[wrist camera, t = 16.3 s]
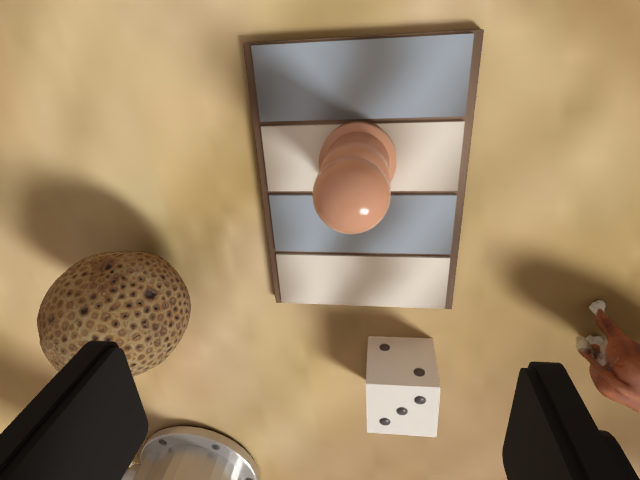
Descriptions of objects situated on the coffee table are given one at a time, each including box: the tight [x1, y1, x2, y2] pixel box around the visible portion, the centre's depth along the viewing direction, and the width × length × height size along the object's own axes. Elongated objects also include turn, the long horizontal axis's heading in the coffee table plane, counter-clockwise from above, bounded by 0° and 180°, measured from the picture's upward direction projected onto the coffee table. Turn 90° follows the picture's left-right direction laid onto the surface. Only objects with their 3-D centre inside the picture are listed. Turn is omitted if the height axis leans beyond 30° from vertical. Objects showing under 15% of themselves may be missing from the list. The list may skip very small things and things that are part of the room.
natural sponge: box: [37, 252, 191, 377], centre depth 28 cm, size 9×9×10 cm
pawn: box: [312, 121, 396, 234], centre depth 22 cm, size 5×5×8 cm
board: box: [243, 29, 484, 309], centre depth 27 cm, size 13×18×1 cm
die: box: [366, 336, 441, 437], centre depth 31 cm, size 5×5×5 cm
